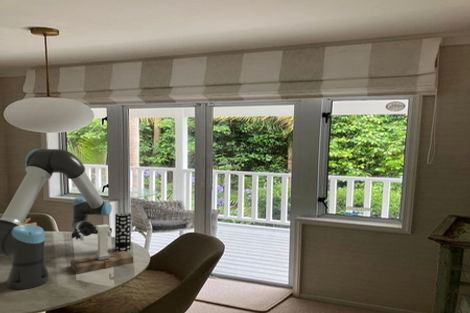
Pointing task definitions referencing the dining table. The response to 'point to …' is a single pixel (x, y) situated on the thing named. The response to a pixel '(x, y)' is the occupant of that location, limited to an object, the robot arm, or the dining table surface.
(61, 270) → the dining table surface
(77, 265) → the fader console
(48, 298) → the dining table surface
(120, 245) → the spotted tube
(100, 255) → the fader knob
